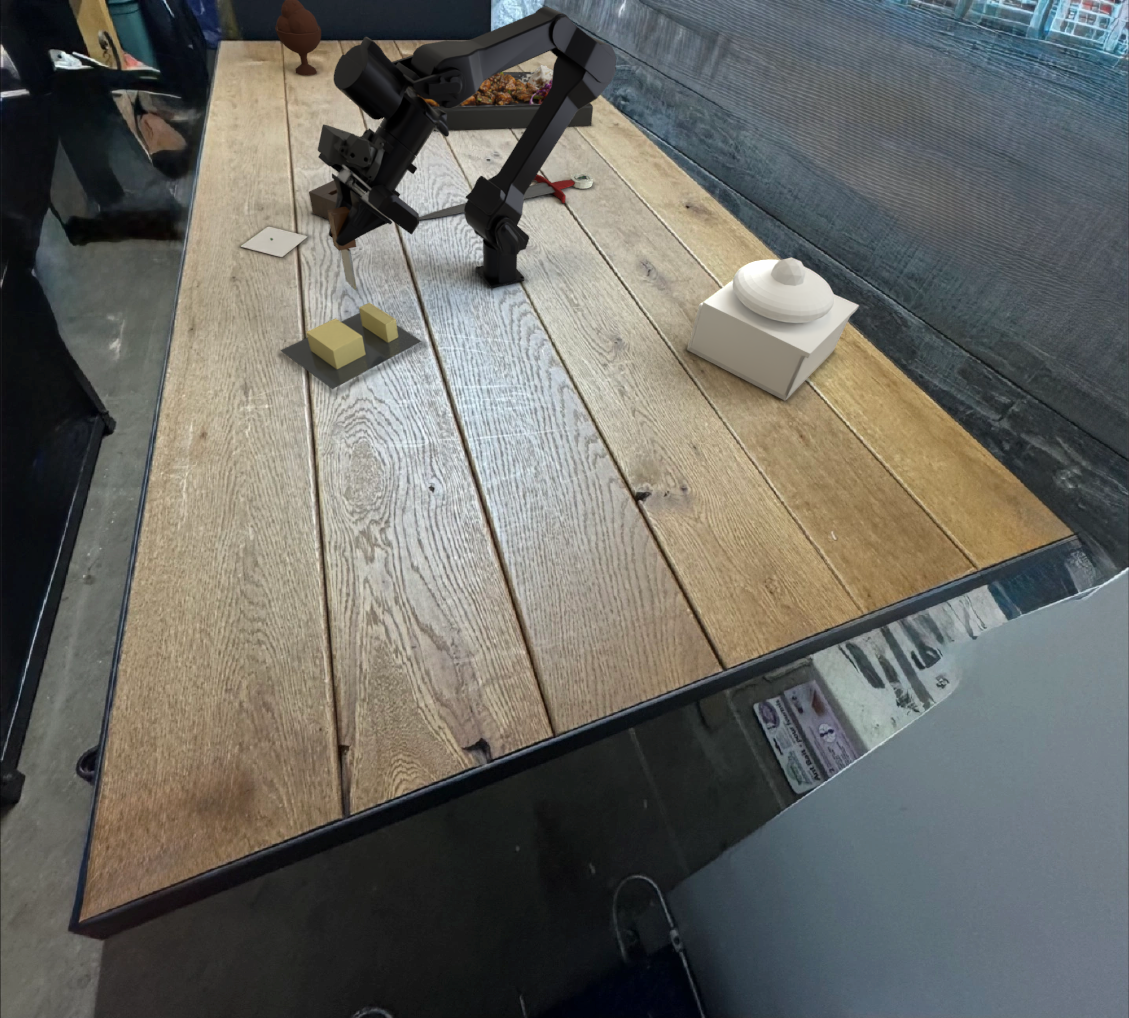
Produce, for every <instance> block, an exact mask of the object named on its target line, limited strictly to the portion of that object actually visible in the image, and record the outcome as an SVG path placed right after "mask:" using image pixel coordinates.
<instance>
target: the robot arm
mask: <svg viewBox="0 0 1129 1018" xmlns="http://www.w3.org/2000/svg"><path fill="white" fill-rule="evenodd" d="M548 52H550V53H552V54H553V55H554V56H555V57H556V59H555V61H554V63H553V69H552V70H553V77H552V86H551V89H550V91H549V92H548V94H547V95H546V97H545V99H544V100H543V102H542V104H541V105H540V107H539V108H538V110H537V112H536V113H535V115H534V117H533V118H532V120H531V121H530V123H529V125H528V126H527V128H525V129H524V131H523V133H522V134H521V136H520V137H519V139H518V141H517V142H516V144H515V145H514V147H513V149H512V151H511V152H510V154H509V155H508V157H507V158H506V160H505V162H504V164H503V165H502V166H501V168H500V170H499V171H498V173H496V175H494V176H492V177H490V178H488V179H487V178H486V177H484V176H483V175H480V176H479V177H478V178H477V179H476V181H475V184H474V186H473V188H472V190H470V192H469V193H467V194H466V196H465V199H467V200H466V202H465V203H466V205H465V208H464V212H463V213H464V219H465V222H466V223H467V224H468V226H469V227H470V228H471V229H473V233H474V234H475V235H477V236H478V237H480V238H481V239H483V240H482V265H478V266H475V271H476V272H477V274H478V275H479V276H480V278H482V280H484V282H485V284H487V285H488V287H490V288H491V289H492V288H497V287H503V286H506V285H511V284H515V283H520V282H524V281H525V276H524V275H523V274H522V273H521V272H520V271H519V269H518V255H519V253H520V252H521V251H524V250H526V249H527V246H528V243H529V240H530V236H529V235H528V234H527V233H526V232H525V231H524V230H523V229H522V228H521V227H519V226H518V225H519V222H520V221H521V219H522V216H523V209H524V201H525V199H524V195H525V193H526V191H527V189H528V188H529V186H531V185H532V183H533V181H535V180H534V178H535V177H536V175H537V174H538V175H539V172H540V171H541V169H542V167H543V166H544V164H545V163H546V161H547V159H548V158H549V156H550V155H551V153H552V151H553V150H554V149H555V147H556V145H557V144H558V143H559V140H560V139H561V137H562V135H564V133H565V131H566V130H567V128H568V127H567V126H568V125H569V123H570V122H571V120H572V118H573V117H574V115H575V114H576V112H577V111H578V110H579V109H581V108H582V107H584V106H586V105H587V104H589V103H591V104H592V102H594V101H595V100H597V99H598V98H599V97H600V96H601V95H602V93H603V92H604V91H605V90H606V88H607V87H608V86H609V85H611V82H612V81H613V79H614V77H615V75H616V73H617V67H616V66H617V65H616V63H617V58H616V57H617V56H616V52H615V50H614V48H613V47H612V46H611V45H610V44H608V43H607V42H604V41H602V40H599V39H598V38H595V37H593V36H591V35H589V34H588V33H586V32H585V31H584V30H582V29H581V28H580V27H578V25H576V24H575V23H574V22H573V21H572V20H571V19H570V18H569V16H568V15H567V14H565V13H563V12H561V11H558V10H557V9H555V8H552V7H549V6H543V7H539V8H538V9H537V10H536V11H535V12H533V13H530V14H529V15H526V16H524V17H522V18H519V19H517V20H514V21H511V22H510V23H507V24H505V25H502V26H500V27H498V28H495V29H493V30H491V31H488V32H486V33H483V34H481V35H479V36H477V37H474V38H471V39H467V40H442V41H441V40H440V41H435V42H428V43H424V44H422V45H419V46H418V47H417V48H416V49H415V50H414V51H413V53H412V55H409V56H405V57H402V58H400V59H399V58H398V59H396V60H393V61H392V60H390V58H389V57H388V56H387V55H386V54H385V52H384V51H383V49H382V48H381V47H380V46H379V45H378V44H377V43H376V41H374V40H372V39H371V38H369V37H368V36H365V37H363V39H362V41H361V43H360V44H356V45H354V46H353V47H351V48H350V49H348V51H346V52H345V54H342V55H340V58H339V59H338V61H337V63H336V65H335V67H334V71H333V72H334V73H333V84H334V86H335V87H336V88H337V89H338V90H339V91H340V92H341V93H342V94H343V95H345V96H346V97H347V98H348V99H349V100H350V101H351V102H353V103H354V104H355V105H356V106H357V107H358V108H359V109H361V111H363V112H364V113H365V114H366V115H367V116H368V117H369V118H371V120H375V121H377V120H381V119H382V120H381V122H380V124H379V126H378V127H377V128H376V130H375V131H374V130H372V129H371V128H368V129H365V130H364V132H363V133H362V134H361V136H359V135H356V134H355V133H351V132H349V131H346V130H343V129H340V128H337V127H334V126H331V125H329V124H322V126H321V132H320V136H319V141H318V146H317V152H318V153H319V155H318V159H320V160H321V161H322V163H324V164H325V165H326V166H328V167H331V168H332V169H333V170H334V171H336V172H337V173H338V174H337V175H336V174H334V173H331V178H332V180H334V182H335V185H336V189H337V200H336V205H335V208H340V207H347V208H348V209H349V210H350V212H349V214H348V216H347V218H346V220H345V222H344V224H343V226H342V228H341V230H340V232H339V234H338V236H337V239H336V243H337V244H339V245H340V246H344V245H346V244H348V243H350V242H351V241H353V240H355V241H356V240H358V238H360V237H362V236H364V235H365V234H367V233H370V232H371V231H374V230H376V229H379V228H380V227H384V225H387V224H388V225H391V226H392V224H393V223H395V225H397V226H398V227H400V228H401V229H403V230H404V231H406V232H407V233H408V234H410V235H413V234H414V232H415V231H416V229H417V228H418V226H419V225H420V220H419V217H420V213H418V212H417V211H416V210H415V209H414V208H413V207H412V206H410V204H408V203H407V202H406V201H404V200H403V199H402V198H400V196H401V193H400V192H398V190H396V189H397V188H398V186H399V184H401V181H402V180H403V178H405V175H406V174H407V173H408V172H409V173H411V174H412V175H414V174H415V172H416V171H417V170H418V167H417V166H416V165H414V164H413V163H414V161H415V160H416V158H417V157H418V155H419V153H421V151H422V149H423V148H424V146H425V144H426V143H427V141H428V139H429V138H430V136H431V135H432V133H433V132H434V131H433V130H434V129H435V130H436V131H435V132H437V133H439V134H441V135H442V136H444V137H445V138H448V137H449V135H450V130H448V125H447V114H446V113H445V112H443V111H442V110H440V109H439V108H437V109H432V108H431V107H430V106H429V105H428V103H427V102H426V101H425V100H424V99H432V100H433V101H435V102H436V103H438V104H439V105H441V106H442V107H445V108H454V107H457V106H459V105H460V104H461V103H463V102H464V101H466V100H467V99H468V98H470V97H471V96H473V95H474V94H475V93H476V92H477V90H478V89H479V87H480V86H481V84H482V83H483V82H484V81H485V80H487V79H488V78H490V77H492V76H494V75H496V74H498V73H501V72H506V71H507V70H510V69H512V68H514V67H516V66H519V65H521V64H523V63H525V62H528V61H530V60H533V59H535V58H537V57H539V56H541V55H544V54H546V53H548ZM407 88H409V89H410V90H412V91H413V92H415V93H416V94H418V95H419V96H421V97H422V98H424V99H422V98H421V97H419V96H413V97H410V96H409V95H408V94H407V93H406V92H405V91H406V89H407ZM328 236H329V238H332V233H331V228H330V227H329V231H328Z"/></svg>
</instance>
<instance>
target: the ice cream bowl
mask: <svg viewBox="0 0 1129 1018" xmlns="http://www.w3.org/2000/svg"><path fill="white" fill-rule="evenodd" d="M280 10H281V13H280V15H279V16H278V18H277V19H276V25H274V28H275V32H276V34H277V35H276V36H277V37H278V39H279V40H280V42H281V44H283V46H285V47H286V48H287V49H288V50H290V51H291V52H292V53H293V52H294V53H296V54H298V56H299V58H300V64H299V65H297V66H296V67H295V70H294V71H295V74H297V75H299V76H314V75H317V74H318V71H317V68H316V67H314V66H313V65H312V64H310V63H309V61H308V54H310V53H311V52H313V51H315V49H317V48H318V46H319V44H320V43H321V39H322V28H321V26H320V25H319V24H318V21H317V19H316V17H315V15H314V14H313V13H312V12H311V11H310V10H308V9H306V8H305V7H304V5H303V4H302V3H301V2H300V1H299V0H284V1H283V2H282V4H281V8H280Z"/></svg>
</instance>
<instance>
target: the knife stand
mask: <svg viewBox="0 0 1129 1018" xmlns="http://www.w3.org/2000/svg"><path fill="white" fill-rule="evenodd" d="M308 196H309V200H310V201H309V202H310V205H311V209H312V214H314V215H317V216H318V217H321V218H324V219H326V220H328V221H329V216H328V210H330V209H335V205H336V200H337V189H336V185H335V182H334V179H332V180H331V181H329V182H326V183H325V184H323V185H320V186H318V187H316V188H314V189H312V190H309V191H308Z"/></svg>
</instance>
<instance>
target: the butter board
mask: <svg viewBox="0 0 1129 1018" xmlns="http://www.w3.org/2000/svg"><path fill="white" fill-rule="evenodd" d="M340 322H342V323H343V324H345V325H346V326H348V327H349V328H351V329H352V330H354V331H355V332H357V333H358V334H360V335H361V336H362V338H363V343H364V349H365V355H364V356H362V357H360V358H358V359H356V360H354V361H352V362H350V363H348V364H347V365H345V366H343V367H341V368H339V369H336V368H334V367H333V366H332V365H330V364H329V363H327V362H326V361H325V360H323V359H322V358H320V357H319V356H318V355H316V354H315V353H314V352H312V351H311V349H310V345H309V341H308V337H306V338H304V339H302V340H299V341H297V342H295V343H293V344H291V345H289V346H287V347H284V348H282V349H280V352H281V353H283V354H284V355H286V356H287V357H288V358H290V359H291V360H292V361H294V362H295V363H297V364H298V365H299V366H301V368H303V369H304V370H306V371H307V372H308V373H310V374H311V375H313V376H314V377H315V378H317V379H318V380H320V381H321V382H322V383H323V384H325V385H326V386H328V387H329V388H330V389H332V390H335V389H336V388H338V387H339V386H341V385H344V384H345V383H347V382H349V381H351V380H353V379H354V378H357V377H358V376H360V375H362V374H364V373H366V372H368V371H370V370H372V369H373V368H375V367H377V366H379V365H380V364H383V363H384V362H387V361H389V360H390V359H392V358H394V357H396V356H397V355H400V354H401V353H403V352H405V351H407V350H409V349H411V348H412V347H415V346H416V345H418V344H420V343H422V340H420V339H419V338H417V336H414V335H413V334H411V333H409V332H408V331H406V330H405V329H403V328H402V327H400V326H399V325H397V331H398V338H396V339H395V340H393V341H391V342H389V343H388V342H386V341H385V340H383V339H382V338H380V337H379V336H377V335H376V334H374V333H373V332H371V331H370V330H368V329H366V328H365V327H363V326H362V321H361V316H360V312H358V313H356V314H355V315H352V316H349V317H347V318H346V319H344V320H340Z"/></svg>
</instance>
